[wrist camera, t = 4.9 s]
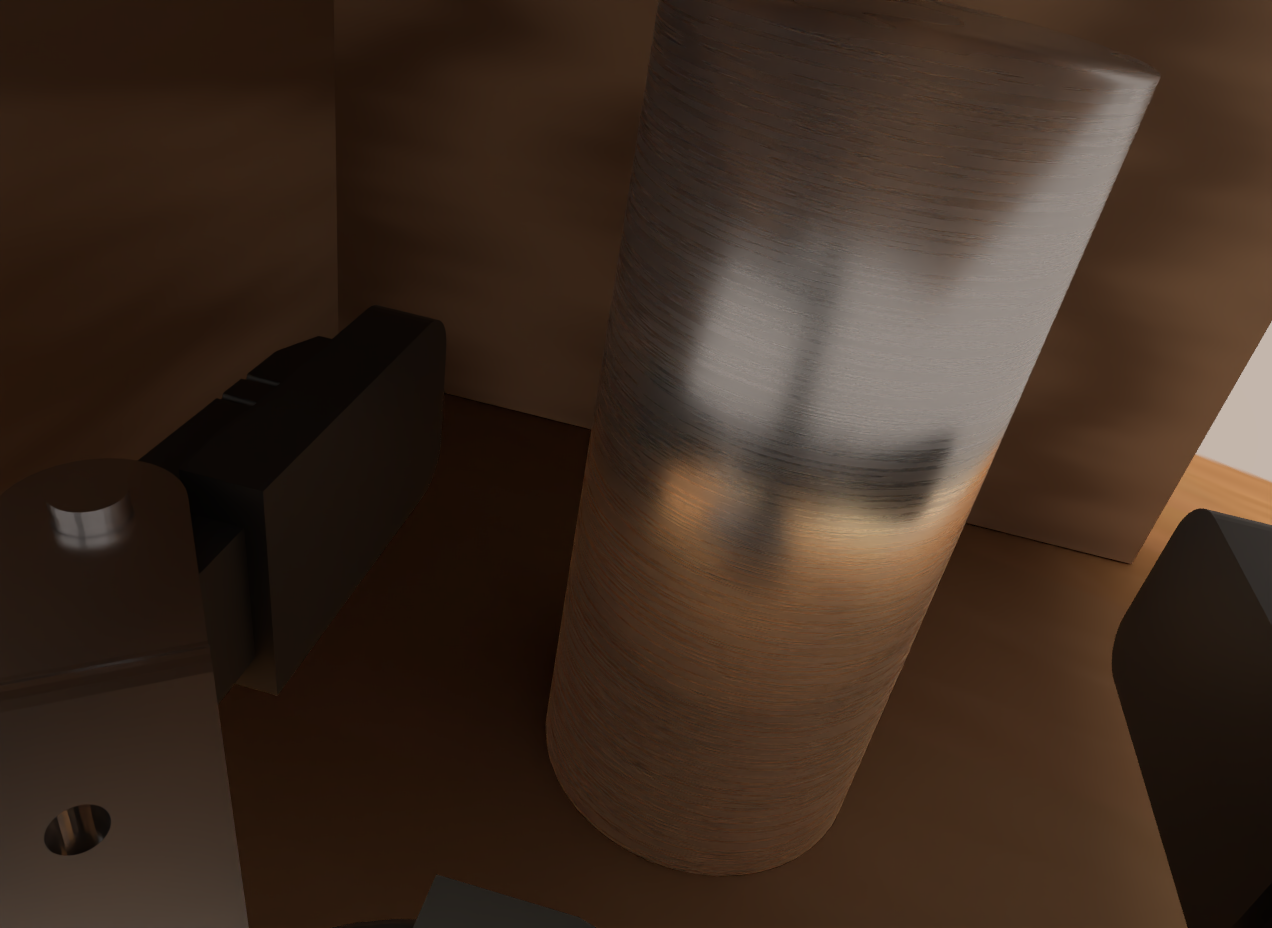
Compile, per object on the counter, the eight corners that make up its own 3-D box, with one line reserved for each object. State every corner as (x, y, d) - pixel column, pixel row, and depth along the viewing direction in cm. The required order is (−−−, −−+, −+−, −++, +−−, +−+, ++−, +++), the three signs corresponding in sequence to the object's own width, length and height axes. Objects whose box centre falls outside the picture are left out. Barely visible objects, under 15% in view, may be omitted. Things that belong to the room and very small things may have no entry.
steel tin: (503, 819, 14) (612, -9, 8) (588, 602, 18) (701, -48, 12) (842, 919, 13) (1232, 120, 7) (849, 671, 18) (1102, 33, 12)
